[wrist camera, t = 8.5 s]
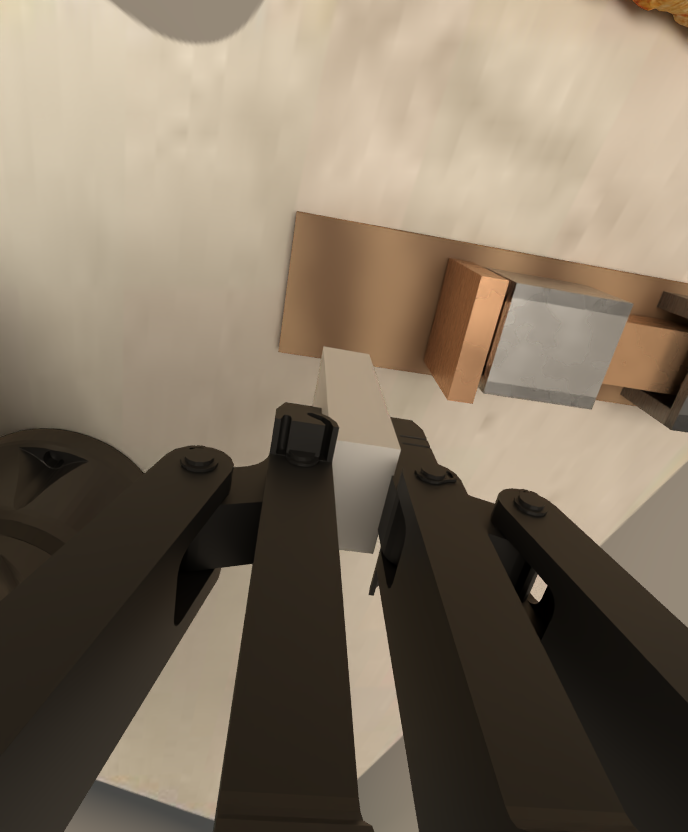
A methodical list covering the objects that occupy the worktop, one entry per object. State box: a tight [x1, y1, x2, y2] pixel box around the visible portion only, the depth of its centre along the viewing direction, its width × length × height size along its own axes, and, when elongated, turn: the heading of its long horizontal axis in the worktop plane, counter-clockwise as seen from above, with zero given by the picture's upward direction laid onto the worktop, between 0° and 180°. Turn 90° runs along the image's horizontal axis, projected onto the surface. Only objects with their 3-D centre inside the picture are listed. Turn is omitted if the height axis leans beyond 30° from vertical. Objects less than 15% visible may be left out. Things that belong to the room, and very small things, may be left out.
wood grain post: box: [424, 258, 688, 404], centre depth 33 cm, size 20×7×7 cm, turn 80°
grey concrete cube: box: [478, 267, 634, 409], centre depth 33 cm, size 7×7×6 cm
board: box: [278, 211, 688, 406], centre depth 36 cm, size 32×9×1 cm, turn 80°
